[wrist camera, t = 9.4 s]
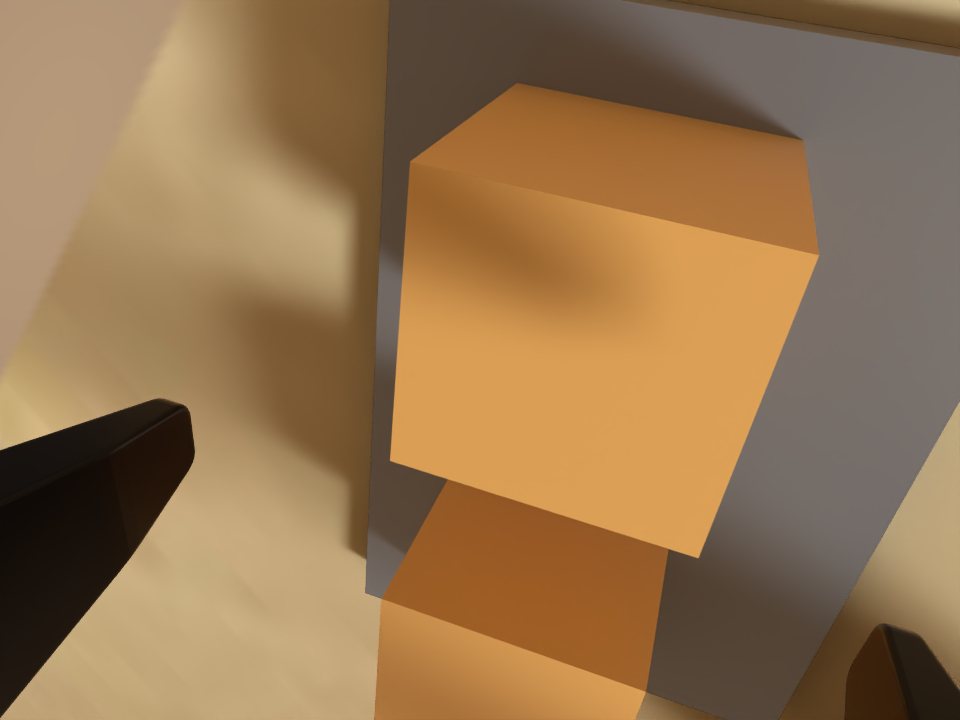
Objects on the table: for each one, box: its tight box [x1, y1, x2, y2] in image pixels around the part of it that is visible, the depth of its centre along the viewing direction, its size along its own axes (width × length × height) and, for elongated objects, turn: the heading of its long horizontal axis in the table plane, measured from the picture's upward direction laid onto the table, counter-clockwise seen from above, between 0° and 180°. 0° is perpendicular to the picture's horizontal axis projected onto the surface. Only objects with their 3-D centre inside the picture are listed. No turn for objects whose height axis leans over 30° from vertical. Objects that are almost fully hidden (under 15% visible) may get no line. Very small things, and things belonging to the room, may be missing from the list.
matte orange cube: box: [390, 83, 819, 558], centre depth 15 cm, size 6×6×6 cm
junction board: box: [365, 0, 960, 720], centre depth 18 cm, size 14×20×7 cm
